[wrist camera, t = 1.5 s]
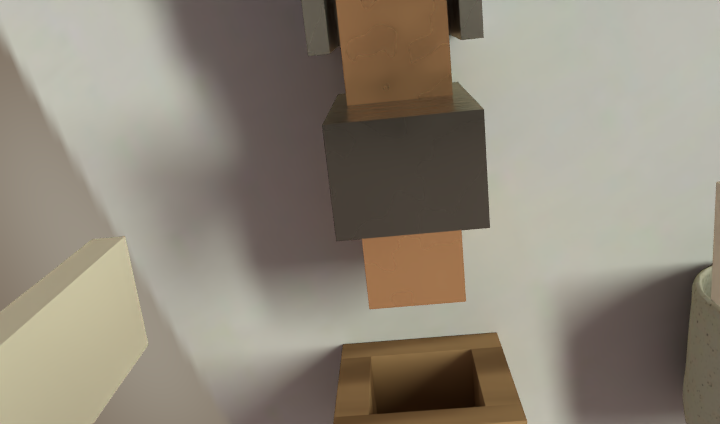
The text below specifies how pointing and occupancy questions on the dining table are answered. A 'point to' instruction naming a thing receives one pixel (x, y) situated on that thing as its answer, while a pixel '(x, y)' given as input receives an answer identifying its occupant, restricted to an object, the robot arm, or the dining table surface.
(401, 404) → the socket
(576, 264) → the dining table surface
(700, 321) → the ceramic mug
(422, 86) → the tan wooden post
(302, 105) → the dining table surface
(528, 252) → the dining table surface
